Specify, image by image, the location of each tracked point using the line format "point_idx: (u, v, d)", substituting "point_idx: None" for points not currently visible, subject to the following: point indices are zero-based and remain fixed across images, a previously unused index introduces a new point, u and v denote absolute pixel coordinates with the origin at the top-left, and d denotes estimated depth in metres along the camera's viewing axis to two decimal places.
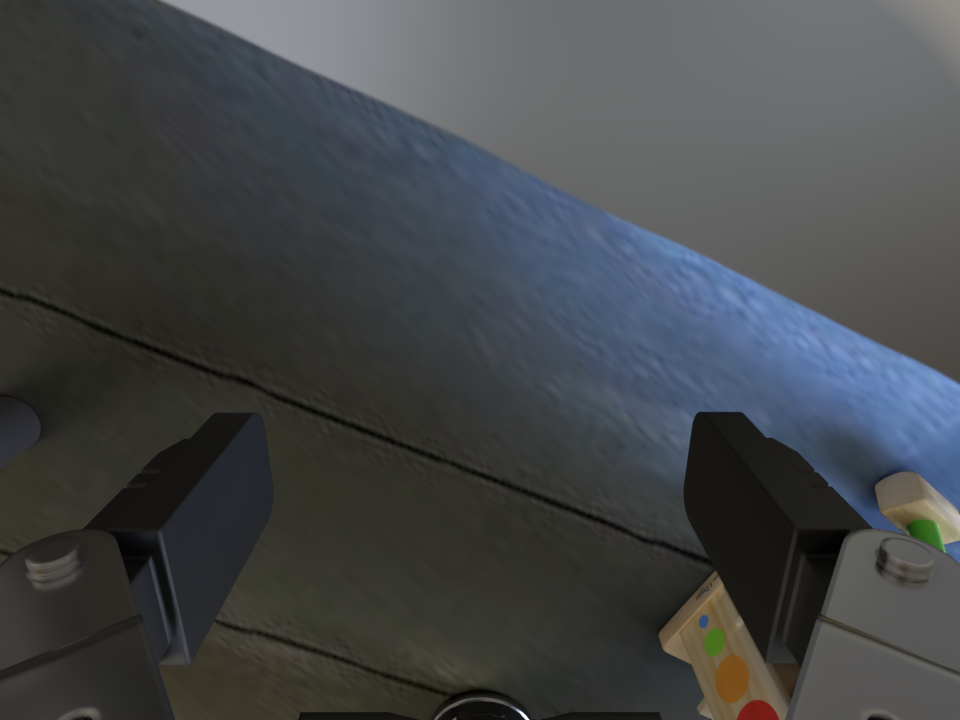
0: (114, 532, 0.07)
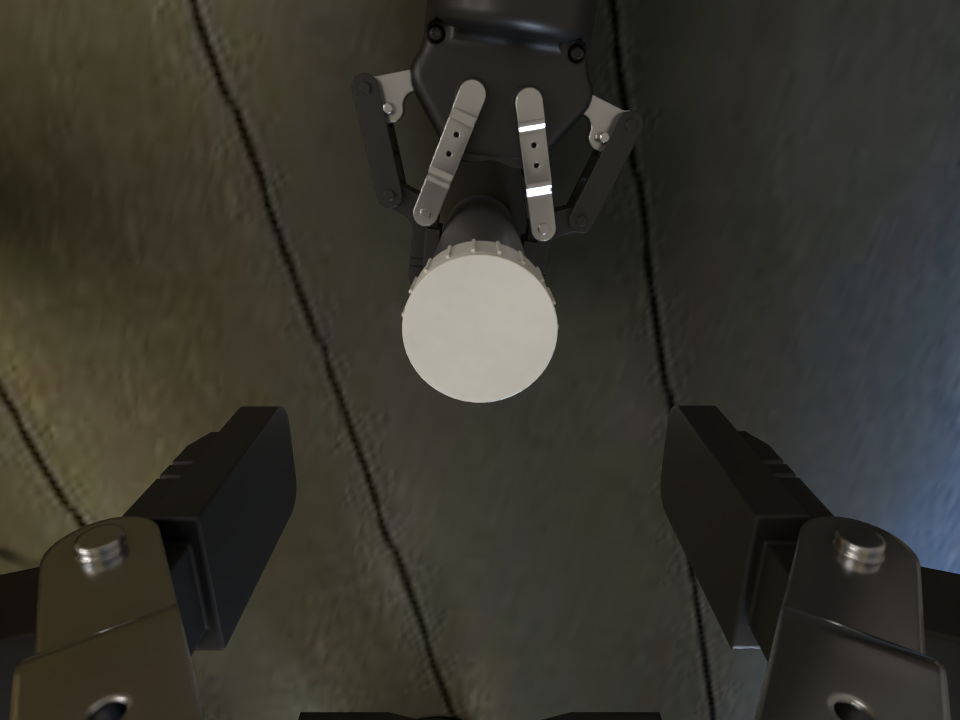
0: (154, 519, 0.08)
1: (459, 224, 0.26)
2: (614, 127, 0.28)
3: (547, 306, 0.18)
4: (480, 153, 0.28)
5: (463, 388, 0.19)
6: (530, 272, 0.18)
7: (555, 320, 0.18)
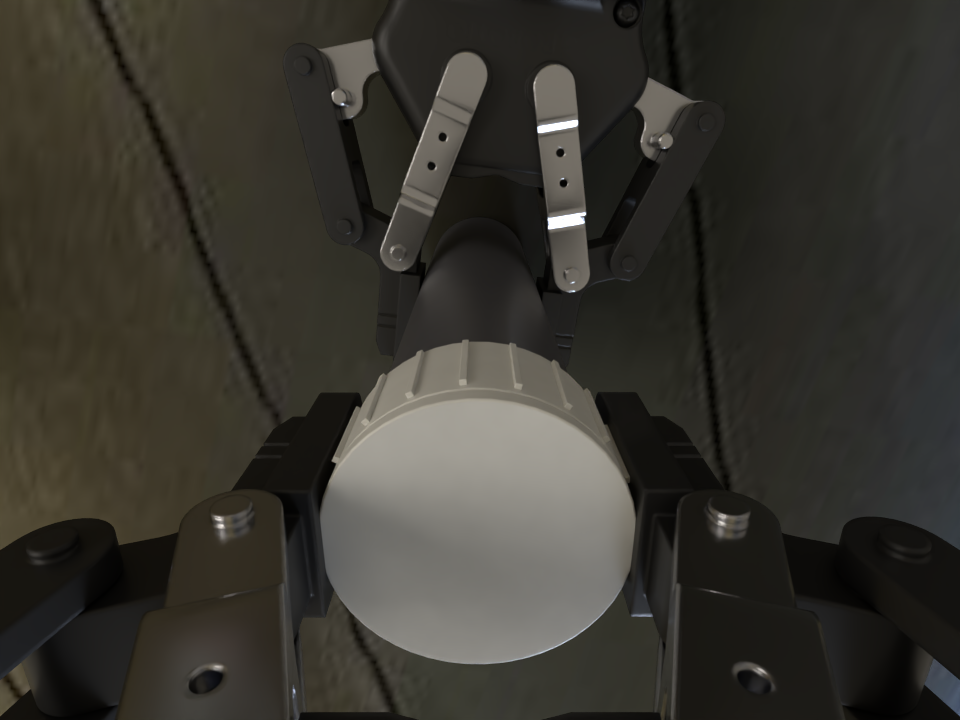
0: (270, 492, 0.08)
1: (446, 277, 0.17)
2: (681, 126, 0.18)
3: (618, 498, 0.09)
4: (479, 164, 0.19)
5: (445, 641, 0.10)
6: (584, 431, 0.08)
7: (633, 522, 0.09)
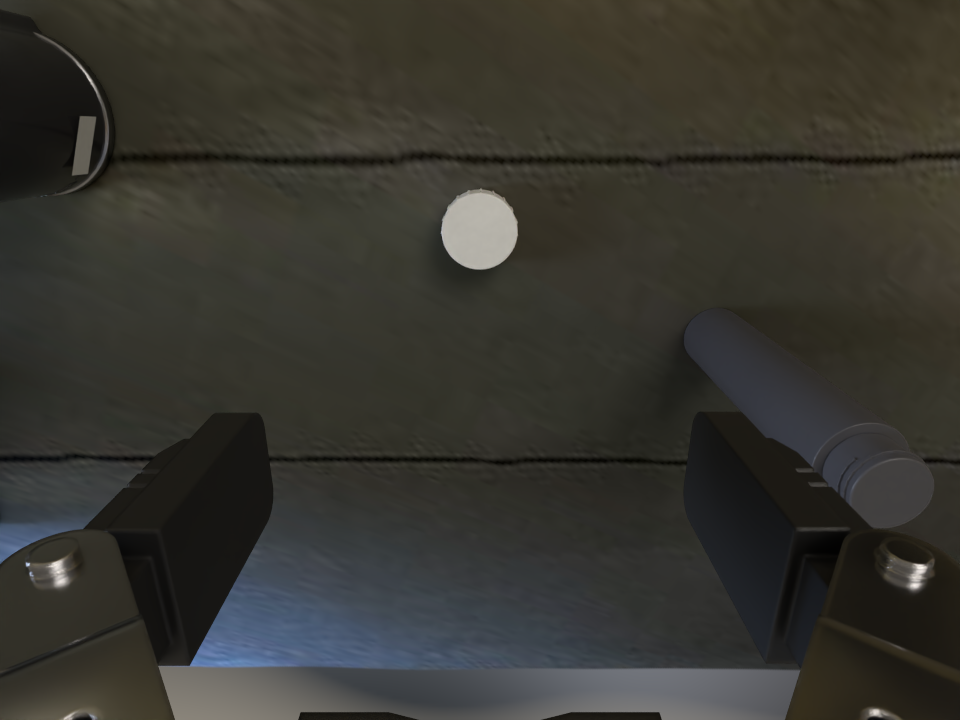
0: (114, 532, 0.07)
1: None
2: None
3: (490, 197, 0.37)
4: None
5: (496, 257, 0.38)
6: (472, 193, 0.37)
7: (499, 199, 0.37)
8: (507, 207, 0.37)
